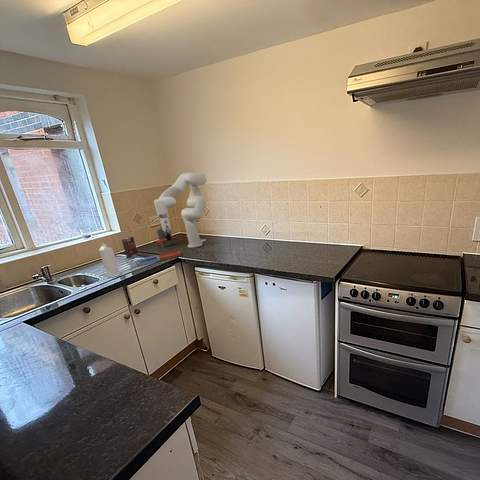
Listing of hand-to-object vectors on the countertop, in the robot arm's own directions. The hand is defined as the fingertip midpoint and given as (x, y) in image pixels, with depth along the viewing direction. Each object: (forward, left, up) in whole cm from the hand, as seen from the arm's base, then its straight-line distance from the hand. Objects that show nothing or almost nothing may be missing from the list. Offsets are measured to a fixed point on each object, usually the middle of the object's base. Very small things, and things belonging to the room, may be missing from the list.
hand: (169, 240), depth 226 cm
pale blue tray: (+18, 0, -12) cm, 22 cm away
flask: (-4, -38, -13) cm, 40 cm away
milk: (+43, +14, -13) cm, 47 cm away
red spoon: (+3, 0, 0) cm, 3 cm away
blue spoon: (+18, 0, -12) cm, 22 cm away
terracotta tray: (+2, 0, -12) cm, 13 cm away
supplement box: (+26, -25, -13) cm, 38 cm away
